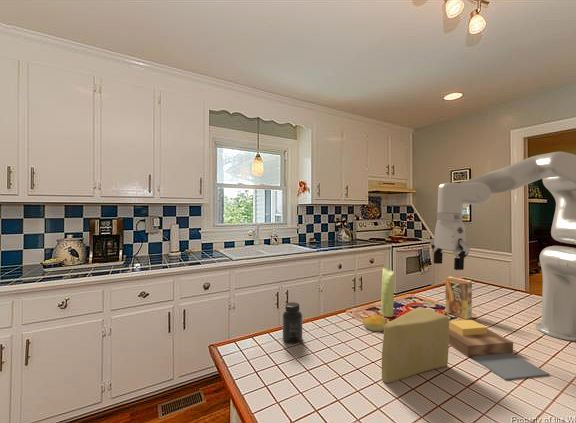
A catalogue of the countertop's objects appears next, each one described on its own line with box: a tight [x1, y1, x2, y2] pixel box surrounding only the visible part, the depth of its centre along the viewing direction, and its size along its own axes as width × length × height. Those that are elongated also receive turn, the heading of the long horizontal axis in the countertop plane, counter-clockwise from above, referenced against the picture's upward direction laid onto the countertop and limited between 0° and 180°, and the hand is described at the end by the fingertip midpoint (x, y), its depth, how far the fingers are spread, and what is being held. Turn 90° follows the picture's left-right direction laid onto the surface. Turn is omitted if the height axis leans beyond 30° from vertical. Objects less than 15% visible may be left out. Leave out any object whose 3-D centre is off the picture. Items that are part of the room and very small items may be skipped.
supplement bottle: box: [282, 301, 303, 344], centre depth 93 cm, size 7×7×12 cm
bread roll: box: [362, 314, 388, 332], centre depth 103 cm, size 8×9×4 cm
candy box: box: [445, 276, 473, 320], centre depth 114 cm, size 9×4×15 cm, turn 33°
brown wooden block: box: [449, 328, 514, 358], centre depth 90 cm, size 16×14×4 cm
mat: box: [471, 352, 550, 381], centre depth 78 cm, size 14×11×1 cm
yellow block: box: [449, 319, 488, 336], centre depth 92 cm, size 9×6×2 cm, turn 99°
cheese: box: [381, 306, 450, 384], centre depth 76 cm, size 22×10×15 cm, turn 120°
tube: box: [380, 267, 395, 318], centre depth 113 cm, size 6×5×20 cm
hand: (447, 266), depth 95 cm, fingers open, 9 cm apart
